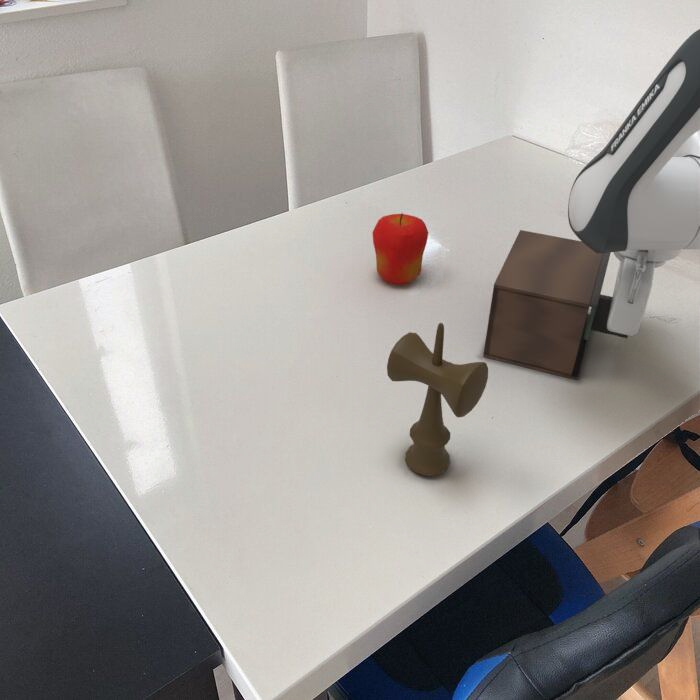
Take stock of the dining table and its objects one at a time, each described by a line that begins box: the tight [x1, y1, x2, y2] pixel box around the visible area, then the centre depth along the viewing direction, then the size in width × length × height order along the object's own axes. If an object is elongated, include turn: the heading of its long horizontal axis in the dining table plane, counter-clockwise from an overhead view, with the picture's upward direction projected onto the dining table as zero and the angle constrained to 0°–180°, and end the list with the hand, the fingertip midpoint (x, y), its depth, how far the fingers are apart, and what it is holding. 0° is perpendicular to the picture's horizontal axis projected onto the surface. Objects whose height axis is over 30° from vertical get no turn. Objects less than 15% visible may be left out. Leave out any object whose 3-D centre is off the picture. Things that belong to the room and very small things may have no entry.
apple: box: [371, 212, 429, 286], centre depth 108 cm, size 9×8×12 cm
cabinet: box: [482, 229, 612, 381], centre depth 95 cm, size 13×16×12 cm
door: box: [583, 294, 629, 340], centre depth 96 cm, size 6×8×11 cm, turn 157°
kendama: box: [386, 322, 489, 477], centre depth 73 cm, size 6×10×20 cm, turn 50°
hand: (619, 323), depth 92 cm, fingers closed
